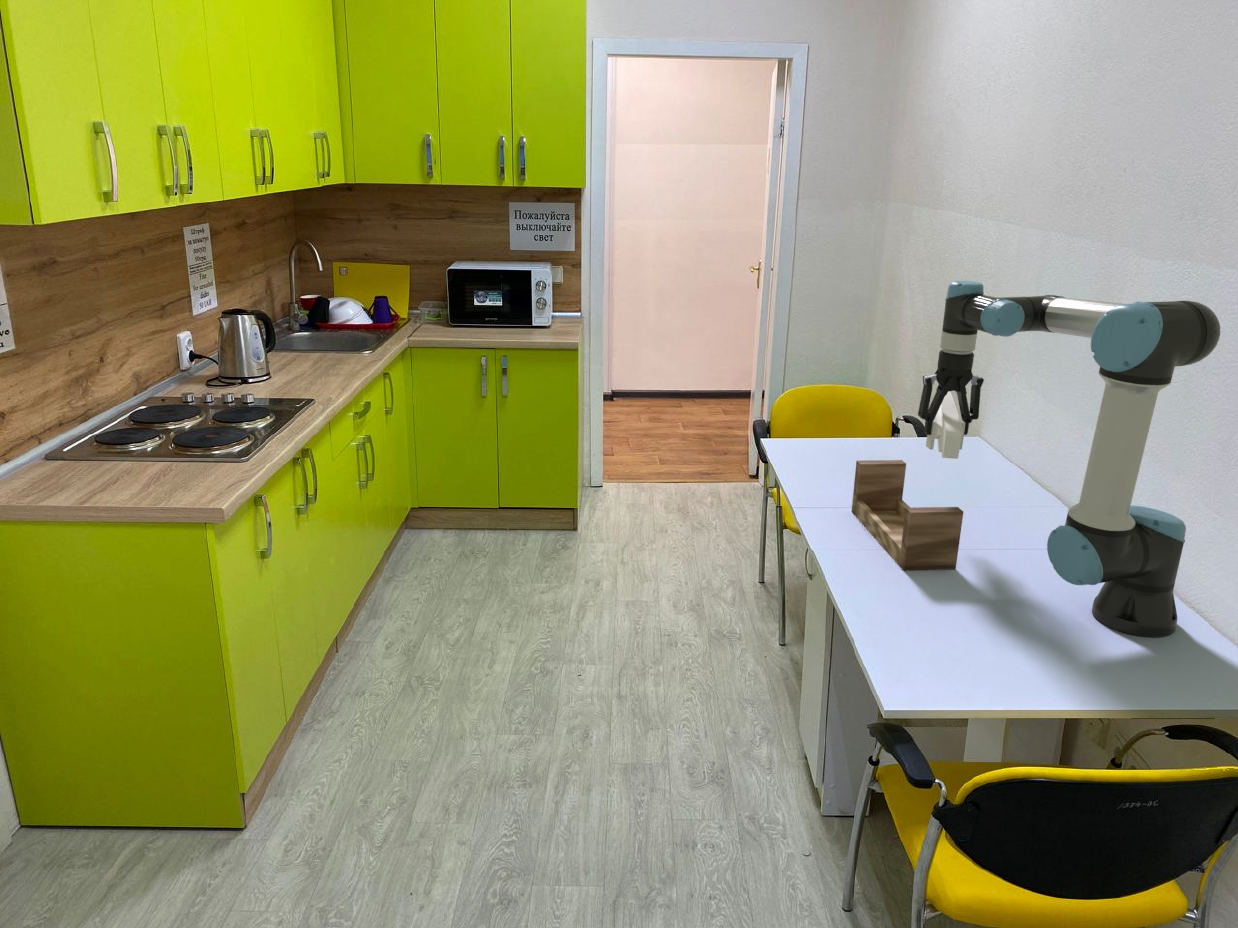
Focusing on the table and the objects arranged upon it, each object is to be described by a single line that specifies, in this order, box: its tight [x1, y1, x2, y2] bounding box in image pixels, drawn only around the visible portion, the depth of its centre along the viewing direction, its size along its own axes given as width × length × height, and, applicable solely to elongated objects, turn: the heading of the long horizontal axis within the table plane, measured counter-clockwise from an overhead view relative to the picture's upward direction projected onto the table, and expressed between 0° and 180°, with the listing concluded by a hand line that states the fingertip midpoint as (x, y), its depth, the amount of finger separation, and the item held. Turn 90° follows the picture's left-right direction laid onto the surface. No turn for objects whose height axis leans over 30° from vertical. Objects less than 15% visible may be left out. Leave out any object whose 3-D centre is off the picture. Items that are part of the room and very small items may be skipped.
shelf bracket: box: [934, 391, 963, 460], centre depth 224 cm, size 6×25×13 cm, turn 168°
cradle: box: [851, 459, 964, 572], centre depth 230 cm, size 37×12×14 cm, turn 5°
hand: (943, 447), depth 224 cm, fingers closed on shelf bracket, 6 cm apart
